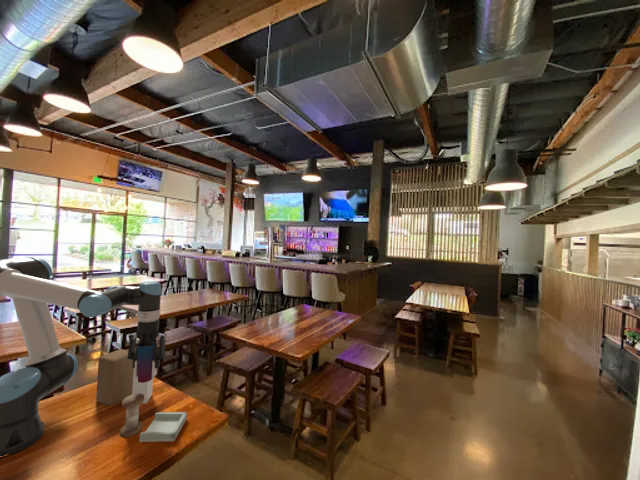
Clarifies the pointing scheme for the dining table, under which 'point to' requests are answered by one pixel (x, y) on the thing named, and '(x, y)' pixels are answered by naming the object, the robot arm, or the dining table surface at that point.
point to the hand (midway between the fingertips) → (145, 375)
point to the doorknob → (132, 415)
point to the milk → (142, 388)
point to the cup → (145, 362)
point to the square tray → (164, 427)
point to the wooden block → (114, 377)
